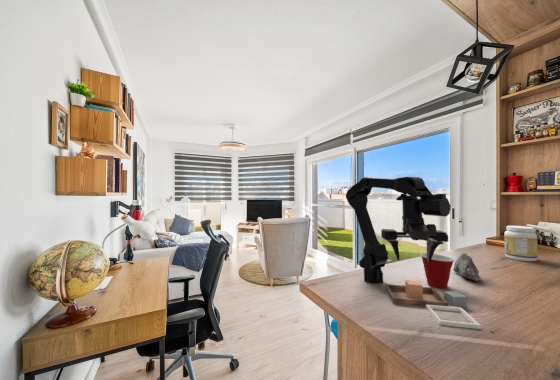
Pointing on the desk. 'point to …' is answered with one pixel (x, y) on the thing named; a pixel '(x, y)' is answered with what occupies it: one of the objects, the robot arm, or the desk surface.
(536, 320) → the desk surface
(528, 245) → the supplement tub
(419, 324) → the desk surface
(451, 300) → the slate rubber block
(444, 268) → the plastic cup
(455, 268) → the mineral rock
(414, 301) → the walnut box
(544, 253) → the desk surface
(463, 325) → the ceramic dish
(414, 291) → the terracotta block
